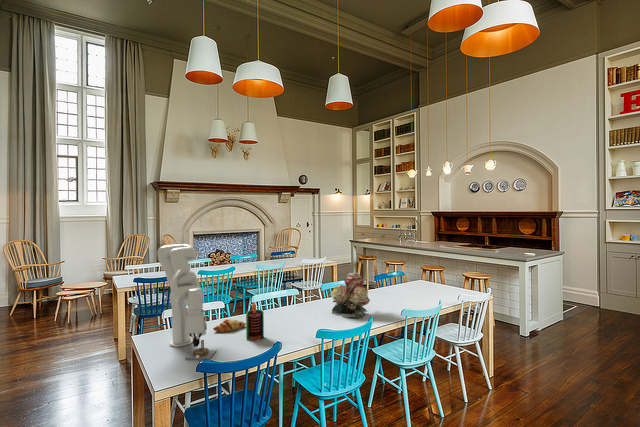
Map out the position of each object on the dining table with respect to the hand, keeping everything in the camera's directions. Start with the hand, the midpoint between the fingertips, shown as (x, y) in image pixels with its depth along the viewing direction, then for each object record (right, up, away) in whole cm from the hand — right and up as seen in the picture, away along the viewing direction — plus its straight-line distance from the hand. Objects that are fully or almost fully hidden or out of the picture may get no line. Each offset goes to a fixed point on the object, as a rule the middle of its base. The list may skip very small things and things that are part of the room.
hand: (196, 345), depth 187 cm
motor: (+27, -4, +22) cm, 35 cm away
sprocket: (+3, -3, -2) cm, 5 cm away
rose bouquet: (+90, -3, +68) cm, 113 cm away
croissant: (+9, -4, +38) cm, 39 cm away
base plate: (+3, -4, -2) cm, 6 cm away
